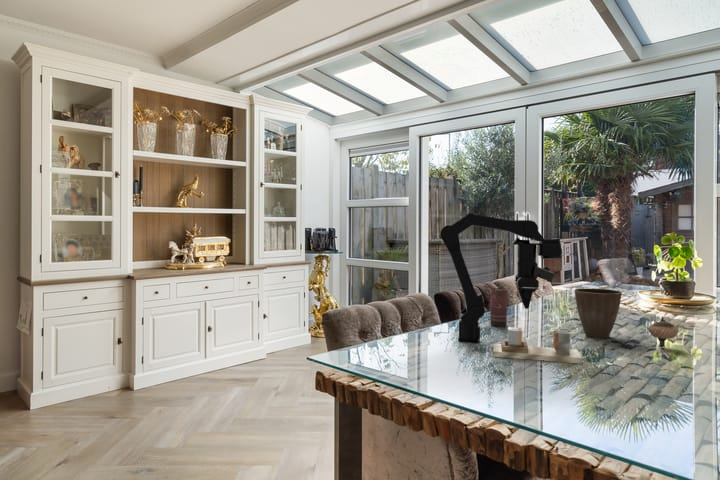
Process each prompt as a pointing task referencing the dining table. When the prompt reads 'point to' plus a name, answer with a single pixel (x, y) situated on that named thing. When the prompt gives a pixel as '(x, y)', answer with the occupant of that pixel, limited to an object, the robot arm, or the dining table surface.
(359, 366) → the dining table surface
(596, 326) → the plant pot
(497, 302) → the brown rounded cylinder
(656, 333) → the lidded footed bowl
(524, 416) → the dining table surface
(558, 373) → the dining table surface
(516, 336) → the white wood-topped block
